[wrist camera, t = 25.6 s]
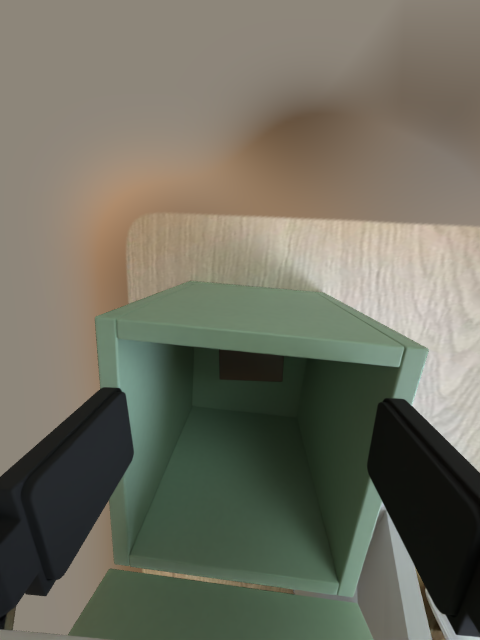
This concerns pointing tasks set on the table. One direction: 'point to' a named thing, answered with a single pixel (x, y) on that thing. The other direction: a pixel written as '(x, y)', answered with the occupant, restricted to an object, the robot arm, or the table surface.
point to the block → (250, 366)
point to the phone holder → (387, 588)
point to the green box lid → (210, 612)
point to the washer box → (250, 433)
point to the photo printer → (446, 623)
